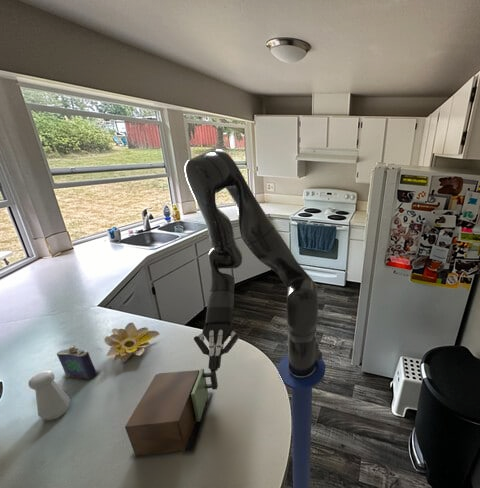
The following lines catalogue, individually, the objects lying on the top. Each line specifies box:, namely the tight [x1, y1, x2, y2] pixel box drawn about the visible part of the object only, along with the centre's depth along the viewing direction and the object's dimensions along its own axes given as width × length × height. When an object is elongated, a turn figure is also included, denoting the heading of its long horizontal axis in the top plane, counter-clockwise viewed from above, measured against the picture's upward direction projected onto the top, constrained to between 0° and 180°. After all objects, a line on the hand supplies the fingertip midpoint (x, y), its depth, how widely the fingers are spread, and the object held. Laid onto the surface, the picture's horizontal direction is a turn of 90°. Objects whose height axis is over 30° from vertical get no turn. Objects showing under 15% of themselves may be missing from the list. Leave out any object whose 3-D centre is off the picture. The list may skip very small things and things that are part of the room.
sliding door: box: [191, 368, 219, 422], centre depth 67 cm, size 4×8×10 cm, turn 8°
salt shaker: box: [28, 370, 71, 421], centre depth 64 cm, size 6×6×13 cm
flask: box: [56, 344, 98, 380], centre depth 76 cm, size 9×3×11 cm, turn 85°
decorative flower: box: [103, 322, 161, 363], centre depth 85 cm, size 15×11×10 cm
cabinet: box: [124, 369, 212, 457], centre depth 63 cm, size 13×15×10 cm
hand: (214, 370), depth 69 cm, fingers closed
